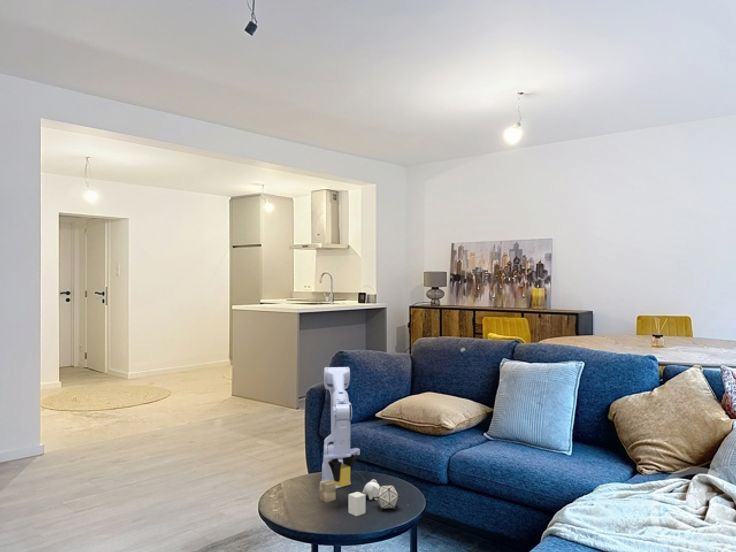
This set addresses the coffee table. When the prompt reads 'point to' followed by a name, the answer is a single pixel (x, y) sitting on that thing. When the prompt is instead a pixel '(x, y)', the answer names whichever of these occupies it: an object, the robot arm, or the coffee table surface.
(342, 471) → the mustard bar
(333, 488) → the birch bar
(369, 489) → the elephant figurine
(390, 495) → the game die
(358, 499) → the off-white bar
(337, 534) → the coffee table surface
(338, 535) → the coffee table surface
